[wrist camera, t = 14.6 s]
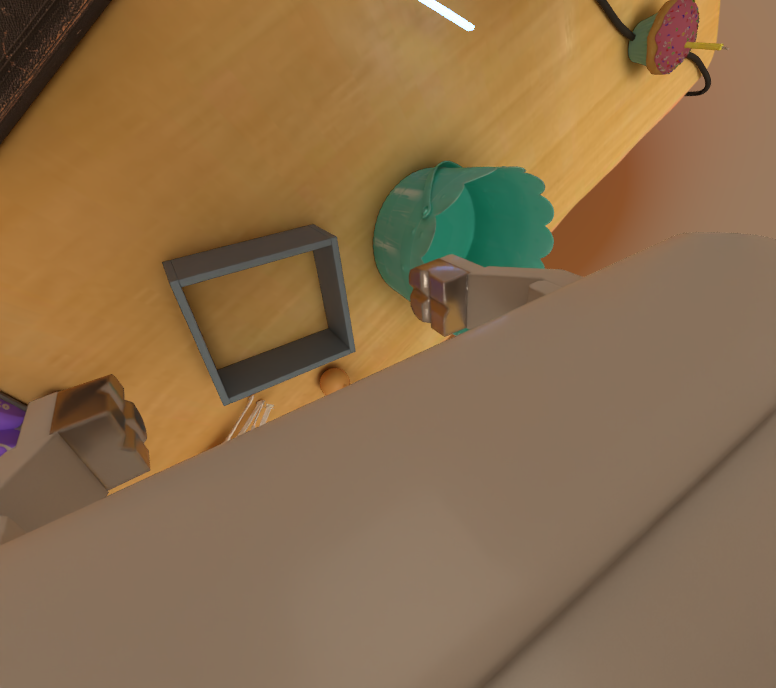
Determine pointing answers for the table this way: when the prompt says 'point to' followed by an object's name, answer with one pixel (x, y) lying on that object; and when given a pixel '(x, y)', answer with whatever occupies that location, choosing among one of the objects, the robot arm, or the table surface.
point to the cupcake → (668, 37)
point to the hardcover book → (37, 48)
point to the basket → (462, 221)
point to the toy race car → (10, 422)
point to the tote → (286, 358)
